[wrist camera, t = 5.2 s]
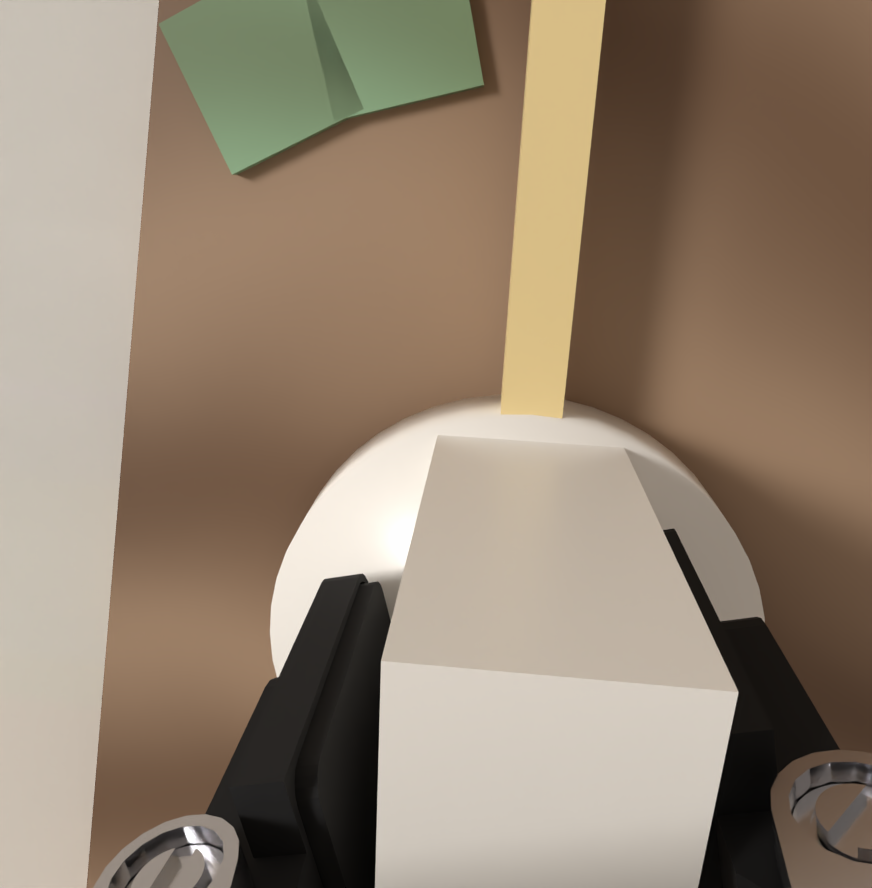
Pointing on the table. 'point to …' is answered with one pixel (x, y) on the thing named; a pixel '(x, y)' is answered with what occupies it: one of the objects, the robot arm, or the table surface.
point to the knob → (535, 582)
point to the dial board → (477, 317)
